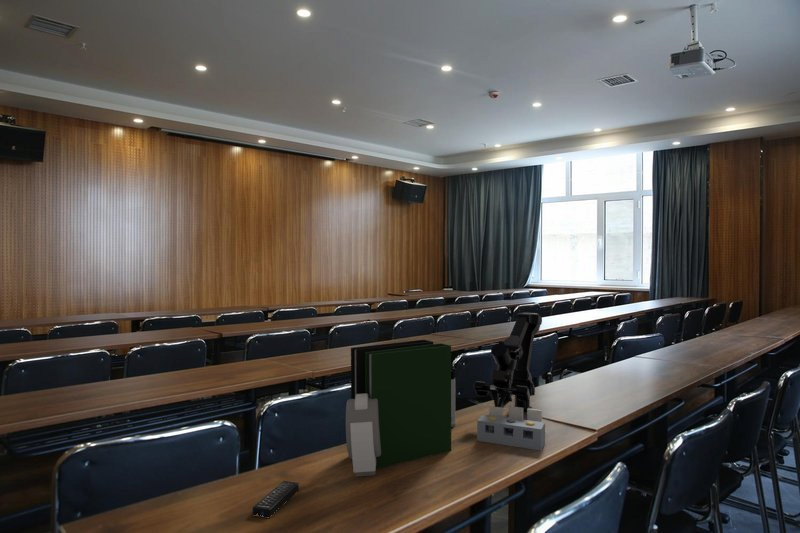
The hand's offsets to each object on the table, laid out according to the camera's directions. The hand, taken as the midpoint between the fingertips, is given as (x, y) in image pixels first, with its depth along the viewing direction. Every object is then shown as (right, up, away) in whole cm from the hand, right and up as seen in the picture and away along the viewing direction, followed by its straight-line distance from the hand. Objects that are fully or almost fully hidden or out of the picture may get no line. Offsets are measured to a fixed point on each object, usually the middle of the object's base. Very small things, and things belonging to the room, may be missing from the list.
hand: (496, 413), depth 166 cm
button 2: (+5, -4, -4) cm, 7 cm away
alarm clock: (-42, -7, -28) cm, 51 cm away
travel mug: (-16, -7, +8) cm, 19 cm away
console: (+3, -7, -8) cm, 11 cm away
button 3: (+10, -4, -7) cm, 13 cm away
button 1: (-2, -4, -4) cm, 6 cm away
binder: (-32, -7, -16) cm, 37 cm away
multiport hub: (-62, -8, -47) cm, 78 cm away
